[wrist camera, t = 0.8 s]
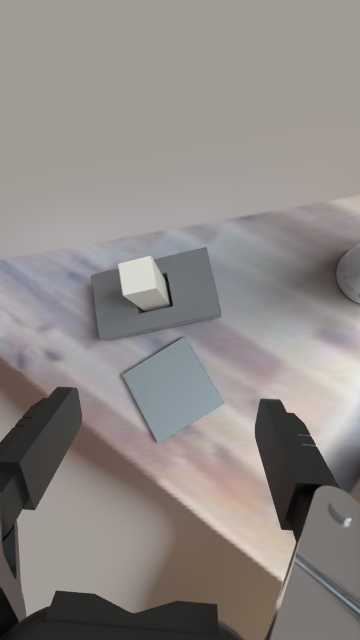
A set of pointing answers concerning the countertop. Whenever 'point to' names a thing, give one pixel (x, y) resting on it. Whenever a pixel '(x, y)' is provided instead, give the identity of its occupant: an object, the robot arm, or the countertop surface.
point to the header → (188, 307)
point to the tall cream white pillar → (144, 284)
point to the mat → (172, 389)
